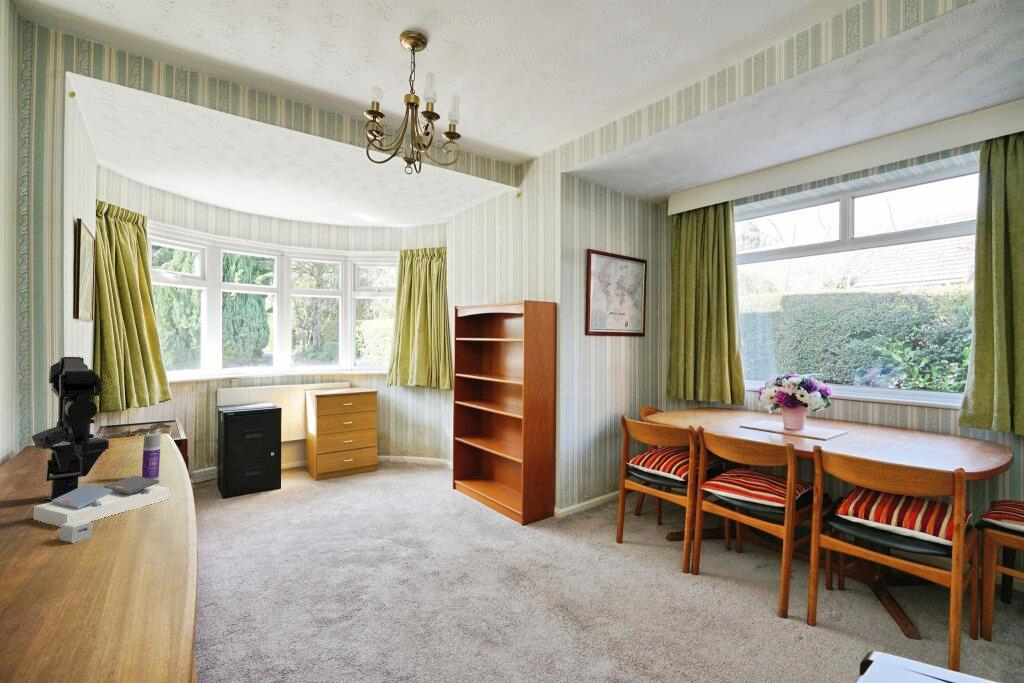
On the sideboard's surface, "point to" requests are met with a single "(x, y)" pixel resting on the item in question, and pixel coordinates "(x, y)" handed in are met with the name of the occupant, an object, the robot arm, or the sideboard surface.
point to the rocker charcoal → (132, 484)
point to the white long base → (100, 506)
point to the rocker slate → (82, 496)
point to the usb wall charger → (75, 531)
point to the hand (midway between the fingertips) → (73, 473)
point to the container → (151, 456)
